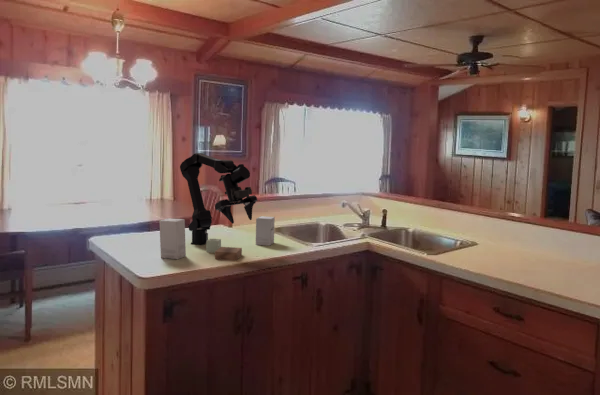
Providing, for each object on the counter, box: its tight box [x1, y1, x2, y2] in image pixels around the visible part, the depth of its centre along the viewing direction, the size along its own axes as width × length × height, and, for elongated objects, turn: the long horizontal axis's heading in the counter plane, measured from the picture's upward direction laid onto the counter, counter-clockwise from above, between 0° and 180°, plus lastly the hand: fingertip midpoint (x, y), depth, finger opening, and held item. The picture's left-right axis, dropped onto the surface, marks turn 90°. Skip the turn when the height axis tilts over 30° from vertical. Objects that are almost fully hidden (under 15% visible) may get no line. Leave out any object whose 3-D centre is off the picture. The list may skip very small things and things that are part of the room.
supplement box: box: [255, 215, 275, 246], centre depth 219 cm, size 7×7×13 cm
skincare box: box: [159, 217, 187, 260], centre depth 188 cm, size 8×7×16 cm
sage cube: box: [205, 238, 222, 254], centre depth 201 cm, size 5×5×5 cm
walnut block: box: [214, 246, 243, 261], centre depth 192 cm, size 9×9×4 cm
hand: (242, 221), depth 197 cm, fingers open, 9 cm apart
